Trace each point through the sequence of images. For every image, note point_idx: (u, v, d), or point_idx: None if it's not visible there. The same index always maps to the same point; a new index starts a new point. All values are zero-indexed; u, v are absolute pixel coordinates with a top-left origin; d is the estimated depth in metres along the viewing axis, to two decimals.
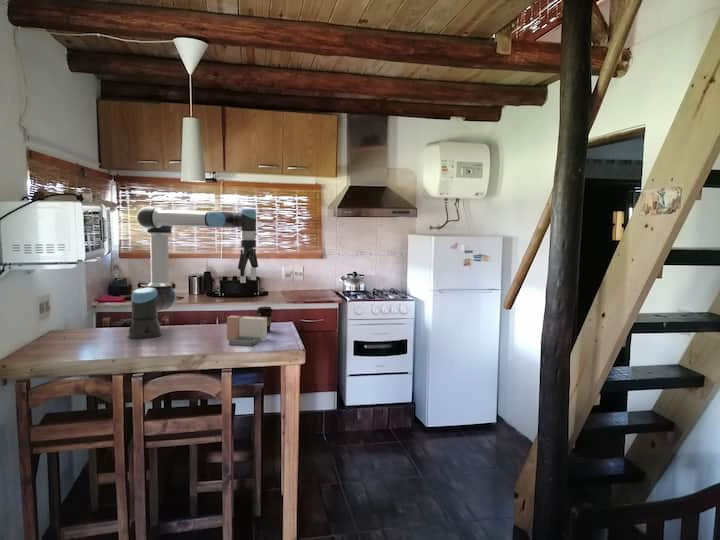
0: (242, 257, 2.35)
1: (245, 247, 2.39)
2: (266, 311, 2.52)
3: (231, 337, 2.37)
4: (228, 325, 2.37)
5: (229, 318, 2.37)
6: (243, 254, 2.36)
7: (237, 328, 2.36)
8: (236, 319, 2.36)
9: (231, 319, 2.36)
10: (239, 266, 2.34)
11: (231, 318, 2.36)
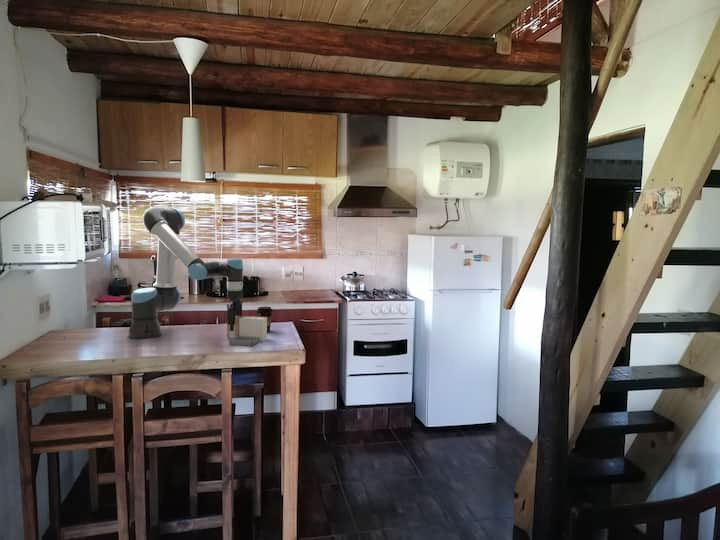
0: (229, 312, 2.32)
1: (231, 298, 2.34)
2: (266, 311, 2.52)
3: (231, 337, 2.37)
4: (228, 325, 2.37)
5: None
6: (230, 309, 2.32)
7: (237, 328, 2.36)
8: (236, 319, 2.36)
9: None
10: (228, 321, 2.33)
11: None
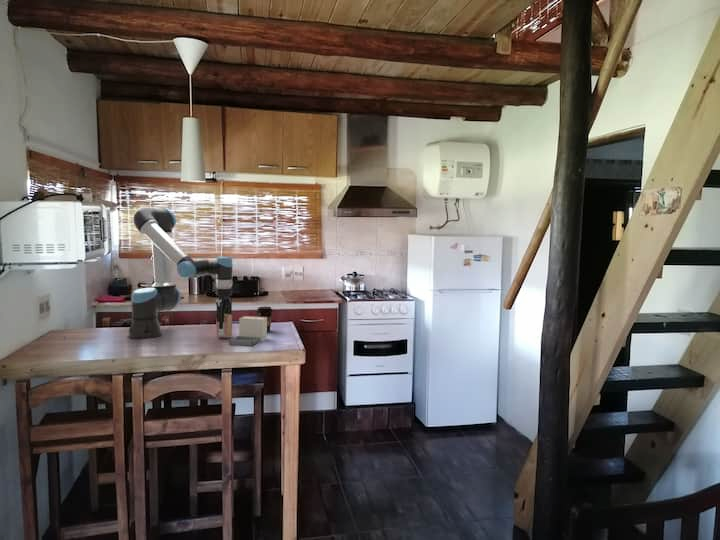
0: (219, 310, 2.33)
1: (221, 296, 2.35)
2: (266, 311, 2.52)
3: (220, 335, 2.38)
4: (217, 323, 2.38)
5: None
6: (219, 307, 2.33)
7: (226, 326, 2.37)
8: (225, 317, 2.37)
9: None
10: (218, 319, 2.34)
11: None
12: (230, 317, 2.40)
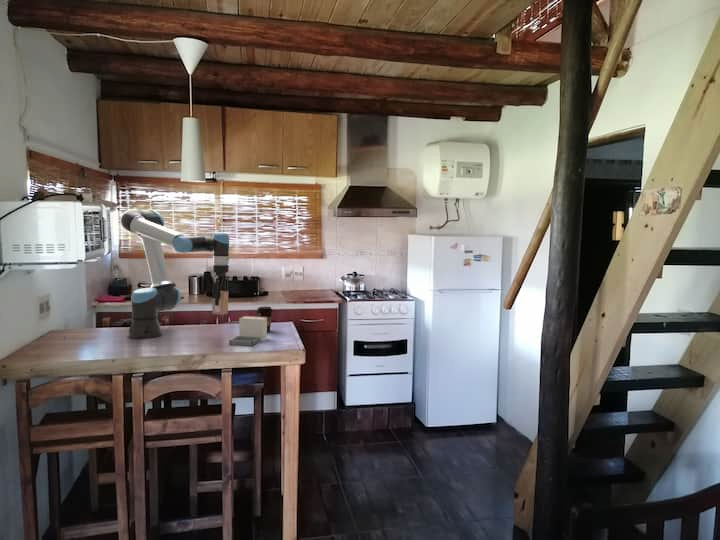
0: (215, 286, 2.33)
1: (217, 272, 2.34)
2: (266, 311, 2.52)
3: (216, 312, 2.38)
4: (213, 300, 2.37)
5: None
6: (215, 283, 2.32)
7: (222, 303, 2.37)
8: (221, 294, 2.36)
9: None
10: (213, 295, 2.33)
11: None
12: (226, 294, 2.39)
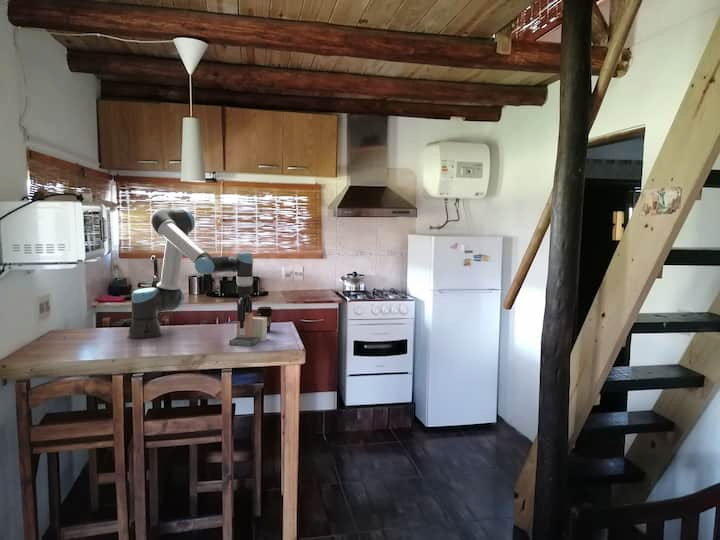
0: (239, 308, 2.22)
1: (241, 294, 2.24)
2: (266, 311, 2.52)
3: (241, 335, 2.27)
4: (238, 322, 2.27)
5: None
6: (240, 305, 2.22)
7: (247, 325, 2.26)
8: (246, 316, 2.26)
9: None
10: (238, 318, 2.23)
11: None
12: (251, 316, 2.29)
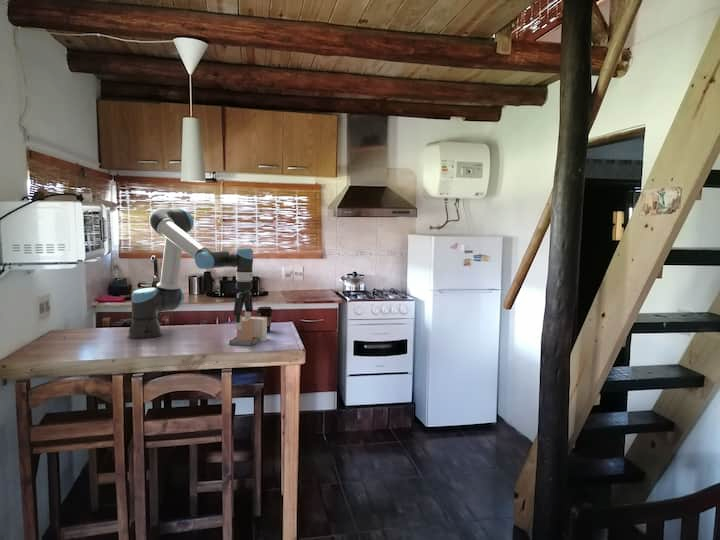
0: (237, 302, 2.20)
1: (240, 289, 2.23)
2: (266, 311, 2.52)
3: None
4: (238, 329, 2.27)
5: None
6: (238, 299, 2.21)
7: (248, 332, 2.26)
8: (246, 322, 2.26)
9: None
10: (235, 312, 2.20)
11: None
12: (251, 322, 2.28)
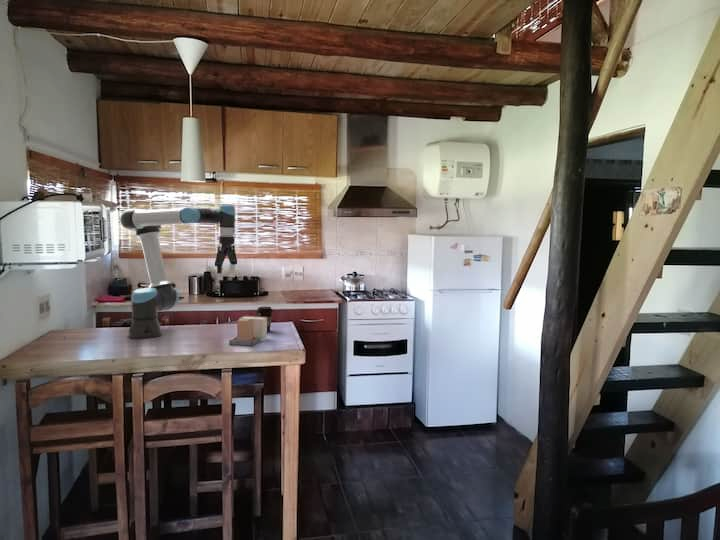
0: (219, 254, 2.32)
1: (223, 244, 2.36)
2: (266, 311, 2.52)
3: None
4: (238, 329, 2.27)
5: (239, 321, 2.26)
6: (220, 251, 2.33)
7: (248, 332, 2.26)
8: (246, 322, 2.26)
9: (241, 322, 2.26)
10: (216, 263, 2.31)
11: (241, 321, 2.26)
12: (251, 322, 2.28)
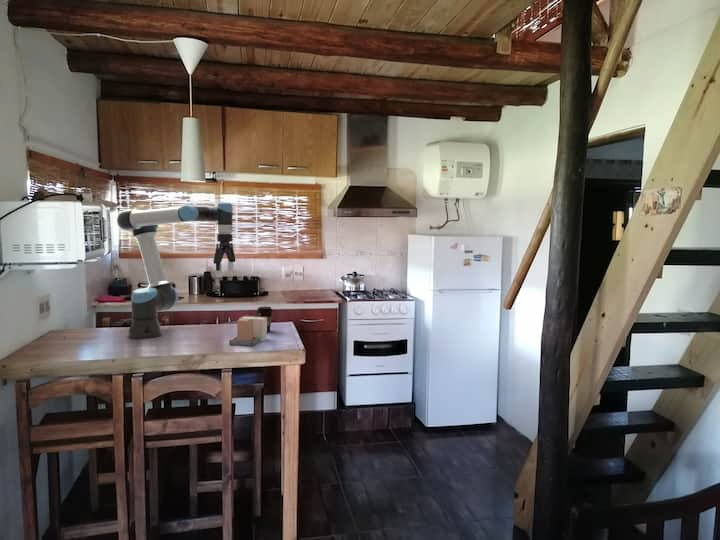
0: (218, 251, 2.34)
1: (221, 241, 2.37)
2: (266, 311, 2.52)
3: None
4: (238, 329, 2.27)
5: (239, 321, 2.26)
6: (219, 248, 2.34)
7: (248, 332, 2.26)
8: (246, 322, 2.26)
9: (241, 322, 2.26)
10: (214, 260, 2.32)
11: (241, 321, 2.26)
12: (251, 322, 2.28)
